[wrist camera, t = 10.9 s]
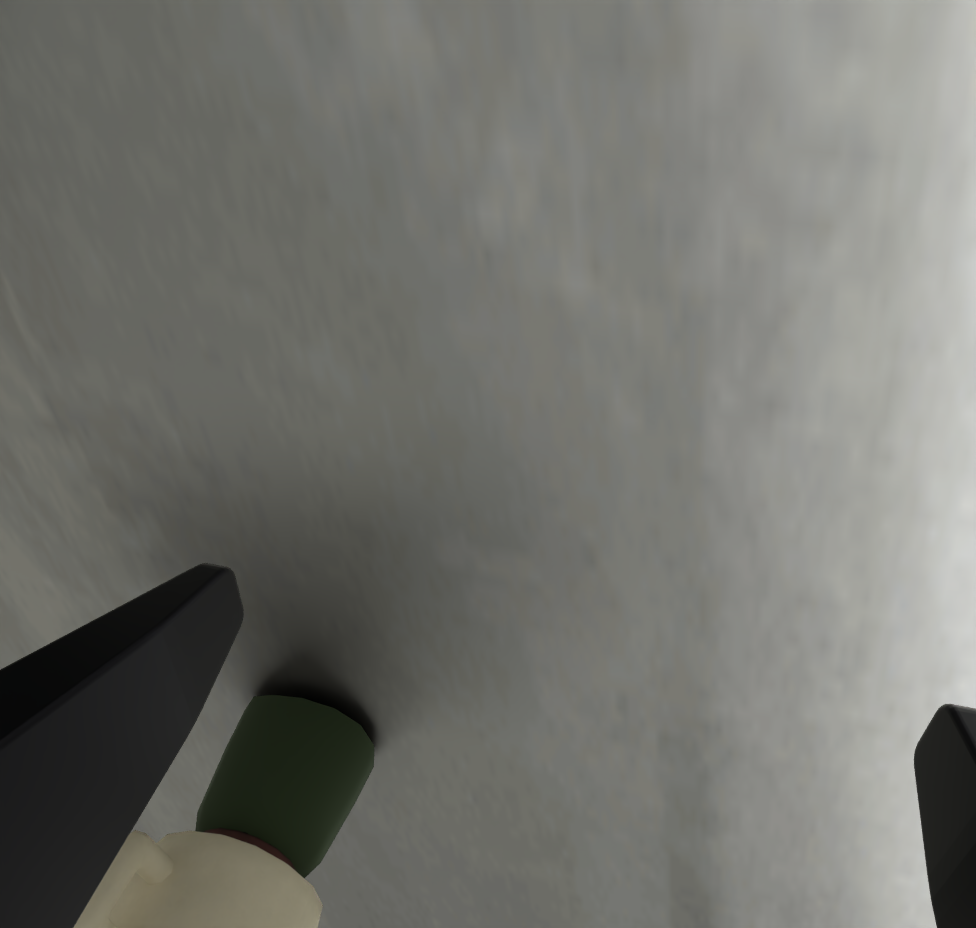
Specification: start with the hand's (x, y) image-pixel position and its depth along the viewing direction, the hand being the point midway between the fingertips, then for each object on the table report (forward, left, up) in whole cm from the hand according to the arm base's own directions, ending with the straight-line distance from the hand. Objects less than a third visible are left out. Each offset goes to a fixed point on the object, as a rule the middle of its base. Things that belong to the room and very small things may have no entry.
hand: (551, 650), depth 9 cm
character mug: (-11, -21, -11) cm, 26 cm away
